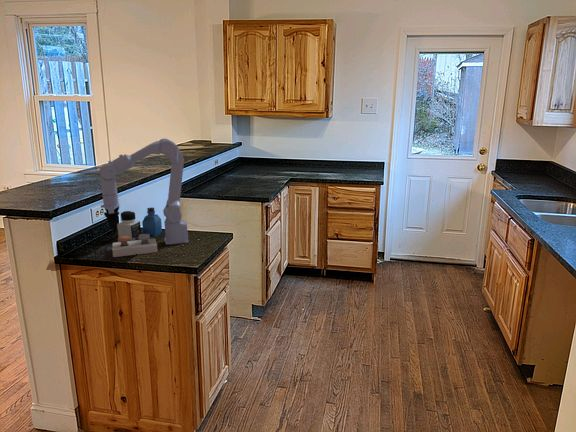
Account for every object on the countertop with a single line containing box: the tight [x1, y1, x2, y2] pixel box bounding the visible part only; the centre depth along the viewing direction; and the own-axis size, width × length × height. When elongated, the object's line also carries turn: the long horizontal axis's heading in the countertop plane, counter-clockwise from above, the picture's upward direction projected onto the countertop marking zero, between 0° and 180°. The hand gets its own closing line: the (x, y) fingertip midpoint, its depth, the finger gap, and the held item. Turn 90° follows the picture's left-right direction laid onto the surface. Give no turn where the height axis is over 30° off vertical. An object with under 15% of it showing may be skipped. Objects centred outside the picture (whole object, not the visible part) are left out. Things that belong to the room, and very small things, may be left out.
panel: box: [111, 237, 158, 258], centre depth 188 cm, size 17×10×3 cm, turn 110°
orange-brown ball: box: [117, 236, 131, 247], centre depth 186 cm, size 4×4×4 cm
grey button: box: [138, 233, 151, 244], centre depth 188 cm, size 4×4×4 cm
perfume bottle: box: [141, 207, 163, 237], centre depth 210 cm, size 6×6×12 cm
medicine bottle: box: [117, 210, 142, 241], centre depth 204 cm, size 7×7×12 cm
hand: (113, 226), depth 188 cm, fingers open, 7 cm apart
